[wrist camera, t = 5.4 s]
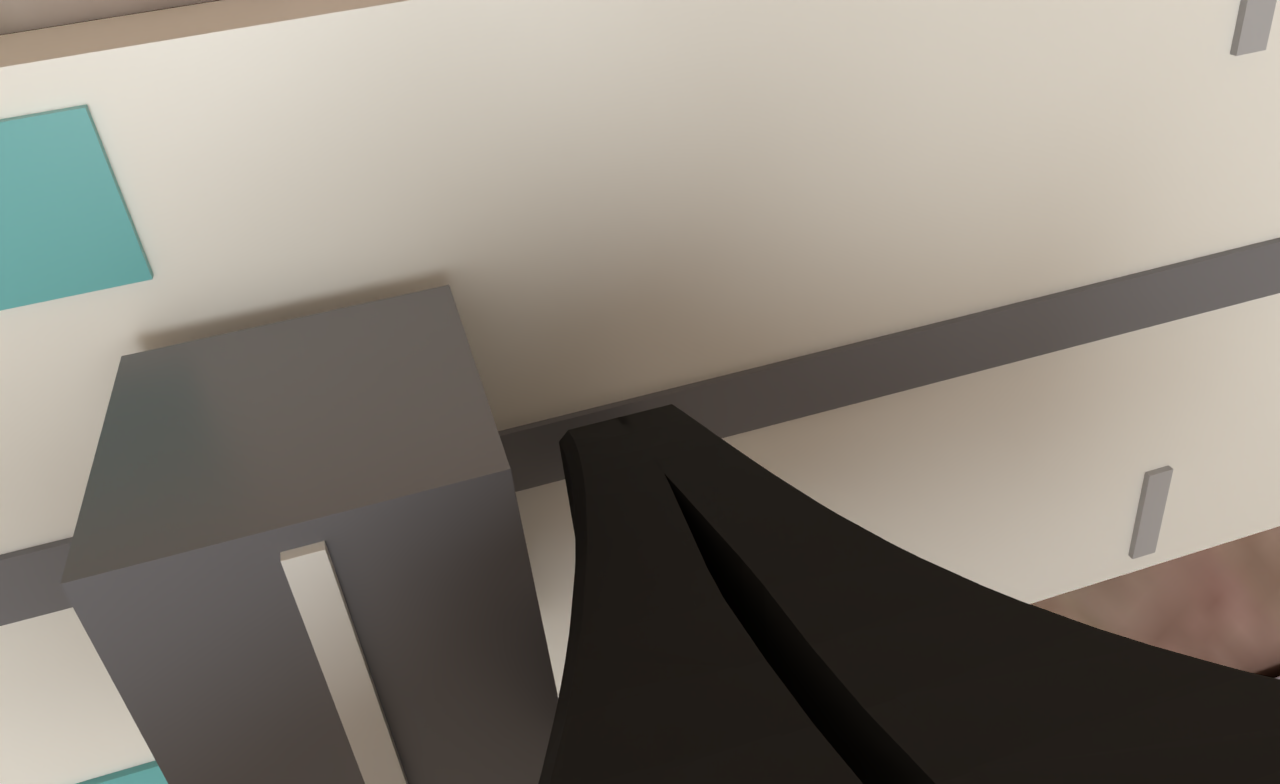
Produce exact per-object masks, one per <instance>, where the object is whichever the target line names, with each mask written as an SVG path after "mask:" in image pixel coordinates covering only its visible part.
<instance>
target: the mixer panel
mask: <svg viewBox="0 0 1280 784" xmlns="http://www.w3.org/2000/svg"><path fill="white" fill-rule="evenodd" d="M445 285H449V286H450V289H451V292H452V295H453V298H454V301H455V304H456V307H457V310H458V313H459V316H460V319H461V322H462V325H463V328H464V331H465V334H466V337H467V340H468V343H469V346H470V349H471V352H472V355H473V358H474V361H475V364H476V367H477V370H478V373H479V376H480V379H481V382H482V385H483V388H484V391H485V394H486V397H487V400H488V403H489V406H490V409H491V412H492V415H493V418H494V421H495V424H496V427H497V430H498V433H499V436H500V439H501V442H502V445H503V448H504V451H505V454H506V457H507V460H508V463H509V466H510V469H511V474H512V478H513V483H514V488H515V493H516V498H517V502H518V507H519V512H520V517H521V522H522V526H523V531H524V536H525V541H526V545H527V550H528V555H529V560H530V565H531V569H532V574H533V579H534V584H535V589H536V593H537V598H538V603H539V608H540V613H541V617H542V622H543V627H544V632H545V637H546V641H547V646H548V651H549V656H550V661H551V665H552V670H553V675H554V680H555V685H556V689H557V694H558V697H559V692H560V687H561V681H562V676H563V670H564V664H565V658H566V651H567V644H568V637H569V629H570V619H571V608H572V597H573V586H574V574H575V534H574V528H573V522H572V516H571V510H570V505H569V499H568V493H567V487H566V481H565V475H564V469H563V463H562V457H561V452H560V446H559V441H560V440H561V438H562V437H563V436H564V435H565V433H566V432H567V431H568V430H570V429H574V428H578V427H582V426H586V425H590V424H594V423H598V422H602V421H606V420H610V419H614V418H618V417H622V416H626V415H630V414H634V413H638V412H642V411H646V410H650V409H654V408H658V407H662V406H666V405H670V404H673V405H674V406H676V407H677V408H679V409H680V410H682V411H683V412H685V413H686V414H688V415H689V416H690V417H692V418H693V419H695V420H696V421H698V422H699V423H700V424H702V425H703V426H705V427H706V428H708V429H709V430H710V431H712V432H713V433H715V434H716V435H717V436H719V437H720V438H722V439H723V440H725V441H726V442H727V443H729V444H730V445H732V446H733V447H735V448H736V449H737V450H739V451H740V452H742V453H743V454H745V455H746V456H748V457H749V458H750V459H752V460H753V461H755V462H756V463H758V464H759V465H761V466H762V467H764V468H765V469H767V470H768V471H770V472H771V473H773V474H774V475H776V476H777V477H779V478H781V479H782V480H784V481H785V482H787V483H788V484H790V485H792V486H793V487H795V488H796V489H798V490H799V491H801V492H803V493H804V494H806V495H807V496H809V497H811V498H812V499H814V500H815V501H817V502H818V503H820V504H822V505H823V506H825V507H827V508H829V509H830V510H832V511H834V512H835V513H837V514H839V515H841V516H842V517H844V518H846V519H848V520H850V521H851V522H853V523H855V524H857V525H859V526H861V527H862V528H864V529H866V530H868V531H870V532H872V533H873V534H875V535H877V536H879V537H881V538H883V539H884V540H886V541H888V542H890V543H892V544H894V545H896V546H898V547H900V548H902V549H904V550H906V551H908V552H910V553H912V554H914V555H916V556H918V557H920V558H922V559H924V560H927V561H929V562H931V563H933V564H936V565H938V566H940V567H942V568H944V569H947V570H949V571H951V572H953V573H956V574H958V575H960V576H962V577H964V578H967V579H969V580H971V581H973V582H976V583H978V584H980V585H982V586H985V587H987V588H990V589H992V590H995V591H997V592H1000V593H1002V594H1005V595H1007V596H1010V597H1012V598H1015V599H1017V600H1020V601H1022V602H1025V603H1027V604H1032V603H1035V602H1038V601H1041V600H1044V599H1048V598H1051V597H1054V596H1057V595H1060V594H1064V593H1067V592H1070V591H1073V590H1076V589H1080V588H1083V587H1086V586H1089V585H1092V584H1096V583H1099V582H1102V581H1105V580H1109V579H1112V578H1115V577H1118V576H1121V575H1125V574H1128V573H1131V572H1134V571H1137V570H1141V569H1144V568H1147V567H1150V566H1153V565H1157V564H1160V563H1163V562H1166V561H1169V560H1173V559H1176V558H1179V557H1182V556H1185V555H1189V554H1192V553H1195V552H1198V551H1201V550H1205V549H1208V548H1211V547H1214V546H1218V545H1221V544H1224V543H1227V542H1230V541H1234V540H1237V539H1240V538H1243V537H1246V536H1250V535H1253V534H1256V533H1259V532H1262V531H1266V530H1269V529H1272V528H1275V527H1278V526H1280V0H220V1H214V2H207V3H201V4H195V5H188V6H182V7H176V8H169V9H163V10H157V11H151V12H144V13H138V14H132V15H125V16H119V17H113V18H106V19H100V20H94V21H87V22H81V23H75V24H69V25H62V26H56V27H50V28H43V29H37V30H31V31H24V32H18V33H12V34H6V35H0V784H168V783H167V781H166V779H165V777H164V775H163V773H162V771H161V770H160V768H159V766H158V764H157V762H156V760H155V758H154V757H153V755H152V753H151V751H150V749H149V747H148V746H147V744H146V742H145V740H144V738H143V736H142V734H141V733H140V731H139V729H138V727H137V725H136V723H135V721H134V720H133V718H132V716H131V714H130V712H129V710H128V709H127V707H126V705H125V703H124V701H123V699H122V697H121V696H120V694H119V692H118V690H117V688H116V686H115V684H114V683H113V681H112V679H111V677H110V675H109V673H108V672H107V670H106V668H105V666H104V664H103V662H102V660H101V659H100V657H99V655H98V653H97V651H96V649H95V647H94V646H93V644H92V642H91V640H90V638H89V636H88V634H87V633H86V631H85V629H84V627H83V625H82V623H81V622H80V620H79V618H78V616H77V614H76V612H75V610H74V609H73V607H72V605H71V603H70V601H69V599H68V597H67V596H66V594H65V592H64V590H63V588H62V586H61V585H60V583H61V579H62V576H63V572H64V568H65V564H66V561H67V557H68V553H69V550H70V546H71V542H72V538H73V535H74V531H75V527H76V523H77V520H78V516H79V512H80V509H81V505H82V501H83V497H84V494H85V490H86V486H87V482H88V479H89V475H90V471H91V468H92V464H93V460H94V456H95V453H96V449H97V445H98V441H99V438H100V434H101V430H102V427H103V423H104V419H105V415H106V412H107V408H108V404H109V400H110V397H111V393H112V389H113V386H114V382H115V378H116V374H117V371H118V367H119V363H120V360H121V356H124V355H129V354H134V353H138V352H143V351H147V350H152V349H157V348H161V347H166V346H170V345H175V344H179V343H184V342H189V341H193V340H198V339H202V338H207V337H211V336H216V335H221V334H225V333H230V332H234V331H239V330H244V329H248V328H253V327H257V326H262V325H266V324H271V323H276V322H280V321H285V320H289V319H294V318H298V317H303V316H308V315H312V314H317V313H321V312H326V311H330V310H335V309H340V308H344V307H349V306H353V305H358V304H363V303H367V302H372V301H376V300H381V299H385V298H390V297H395V296H399V295H404V294H408V293H413V292H417V291H422V290H427V289H431V288H436V287H440V286H445Z"/></svg>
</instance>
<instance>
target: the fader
mask: <svg viewBox="0 0 1280 784" xmlns="http://www.w3.org/2000/svg"><path fill="white" fill-rule="evenodd" d="M60 585H61V586H62V588H63V590H64V592H65V594H66V596H67V597H68V599H69V601H70V603H71V605H72V607H73V609H74V610H75V612H76V614H77V616H78V618H79V620H80V622H81V623H82V625H83V627H84V629H85V631H86V633H87V634H88V636H89V638H90V640H91V642H92V644H93V646H94V647H95V649H96V651H97V653H98V655H99V657H100V659H101V660H102V662H103V664H104V666H105V668H106V670H107V672H108V673H109V675H110V677H111V679H112V681H113V683H114V684H115V686H116V688H117V690H118V692H119V694H120V696H121V697H122V699H123V701H124V703H125V705H126V707H127V709H128V710H129V712H130V714H131V716H132V718H133V720H134V721H135V723H136V725H137V727H138V729H139V731H140V733H141V734H142V736H143V738H144V740H145V742H146V744H147V746H148V747H149V749H150V751H151V753H152V755H153V757H154V758H155V760H156V762H157V764H158V766H159V768H160V770H161V771H162V773H163V775H164V777H165V779H166V781H167V783H168V784H538V783H539V779H540V776H541V772H542V768H543V764H544V759H545V755H546V751H547V747H548V743H549V738H550V734H551V730H552V726H553V721H554V717H555V713H556V708H557V703H558V694H557V689H556V685H555V680H554V675H553V670H552V665H551V661H550V656H549V651H548V646H547V641H546V637H545V632H544V627H543V622H542V617H541V613H540V608H539V603H538V598H537V593H536V589H535V584H534V579H533V574H532V569H531V565H530V560H529V555H528V550H527V545H526V541H525V536H524V531H523V526H522V522H521V517H520V512H519V507H518V502H517V498H516V493H515V488H514V483H513V478H512V474H511V469H510V466H509V463H508V460H507V457H506V454H505V451H504V448H503V445H502V442H501V439H500V436H499V433H498V430H497V427H496V424H495V421H494V418H493V415H492V412H491V409H490V406H489V403H488V400H487V397H486V394H485V391H484V388H483V385H482V382H481V379H480V376H479V373H478V370H477V367H476V364H475V361H474V358H473V355H472V352H471V349H470V346H469V343H468V340H467V337H466V334H465V331H464V328H463V325H462V322H461V319H460V316H459V313H458V310H457V307H456V304H455V301H454V298H453V295H452V292H451V289H450V286H449V285H445V286H440V287H436V288H431V289H427V290H422V291H417V292H413V293H408V294H404V295H399V296H395V297H390V298H385V299H381V300H376V301H372V302H367V303H363V304H358V305H353V306H349V307H344V308H340V309H335V310H330V311H326V312H321V313H317V314H312V315H308V316H303V317H298V318H294V319H289V320H285V321H280V322H276V323H271V324H266V325H262V326H257V327H253V328H248V329H244V330H239V331H234V332H230V333H225V334H221V335H216V336H211V337H207V338H202V339H198V340H193V341H189V342H184V343H179V344H175V345H170V346H166V347H161V348H157V349H152V350H147V351H143V352H138V353H134V354H129V355H124V356H121V360H120V363H119V367H118V371H117V374H116V378H115V382H114V386H113V389H112V393H111V397H110V400H109V404H108V408H107V412H106V415H105V419H104V423H103V427H102V430H101V434H100V438H99V441H98V445H97V449H96V453H95V456H94V460H93V464H92V468H91V471H90V475H89V479H88V482H87V486H86V490H85V494H84V497H83V501H82V505H81V509H80V512H79V516H78V520H77V523H76V527H75V531H74V535H73V538H72V542H71V546H70V550H69V553H68V557H67V561H66V564H65V568H64V572H63V576H62V579H61V583H60Z"/></svg>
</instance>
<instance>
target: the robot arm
mask: <svg viewBox="0 0 1280 784" xmlns="http://www.w3.org/2000/svg"><path fill="white" fill-rule="evenodd" d="M559 446H560V452H561V457H562V463H563V469H564V475H565V481H566V487H567V493H568V499H569V505H570V510H571V516H572V522H573V528H574V534H575V574H574V586H573V597H572V608H571V619H570V629H569V637H568V644H567V651H566V658H565V664H564V670H563V676H562V681H561V687H560V692H559V697H558V703H557V708H556V713H555V717H554V721H553V726H552V730H551V734H550V738H549V743H548V747H547V751H546V755H545V759H544V764H543V768H542V772H541V776H540V779H539V783H538V784H1280V676H1278V677H1275V678H1272V677H1267V676H1263V675H1258V674H1253V673H1249V672H1245V671H1241V670H1237V669H1234V668H1230V667H1226V666H1222V665H1219V664H1215V663H1212V662H1208V661H1205V660H1201V659H1197V658H1194V657H1190V656H1187V655H1183V654H1180V653H1176V652H1172V651H1169V650H1165V649H1162V648H1158V647H1155V646H1151V645H1148V644H1145V643H1141V642H1138V641H1135V640H1132V639H1129V638H1126V637H1122V636H1119V635H1116V634H1113V633H1110V632H1106V631H1103V630H1100V629H1097V628H1094V627H1091V626H1089V625H1086V624H1083V623H1080V622H1077V621H1075V620H1072V619H1069V618H1066V617H1064V616H1061V615H1058V614H1055V613H1052V612H1050V611H1047V610H1044V609H1041V608H1039V607H1036V606H1033V605H1030V604H1027V603H1025V602H1022V601H1020V600H1017V599H1015V598H1012V597H1010V596H1007V595H1005V594H1002V593H1000V592H997V591H995V590H992V589H990V588H987V587H985V586H982V585H980V584H978V583H976V582H973V581H971V580H969V579H967V578H964V577H962V576H960V575H958V574H956V573H953V572H951V571H949V570H947V569H944V568H942V567H940V566H938V565H936V564H933V563H931V562H929V561H927V560H924V559H922V558H920V557H918V556H916V555H914V554H912V553H910V552H908V551H906V550H904V549H902V548H900V547H898V546H896V545H894V544H892V543H890V542H888V541H886V540H884V539H883V538H881V537H879V536H877V535H875V534H873V533H872V532H870V531H868V530H866V529H864V528H862V527H861V526H859V525H857V524H855V523H853V522H851V521H850V520H848V519H846V518H844V517H842V516H841V515H839V514H837V513H835V512H834V511H832V510H830V509H829V508H827V507H825V506H823V505H822V504H820V503H818V502H817V501H815V500H814V499H812V498H811V497H809V496H807V495H806V494H804V493H803V492H801V491H799V490H798V489H796V488H795V487H793V486H792V485H790V484H788V483H787V482H785V481H784V480H782V479H781V478H779V477H777V476H776V475H774V474H773V473H771V472H770V471H768V470H767V469H765V468H764V467H762V466H761V465H759V464H758V463H756V462H755V461H753V460H752V459H750V458H749V457H748V456H746V455H745V454H743V453H742V452H740V451H739V450H737V449H736V448H735V447H733V446H732V445H730V444H729V443H727V442H726V441H725V440H723V439H722V438H720V437H719V436H717V435H716V434H715V433H713V432H712V431H710V430H709V429H708V428H706V427H705V426H703V425H702V424H700V423H699V422H698V421H696V420H695V419H693V418H692V417H690V416H689V415H688V414H686V413H685V412H683V411H682V410H680V409H679V408H677V407H676V406H674V405H673V404H670V405H666V406H662V407H658V408H654V409H650V410H646V411H642V412H638V413H634V414H630V415H626V416H622V417H618V418H614V419H610V420H606V421H602V422H598V423H594V424H590V425H586V426H582V427H578V428H574V429H570V430H568V431H567V432H566V433H565V435H564V436H563V437H562V438H561V440H560V441H559Z"/></svg>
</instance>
